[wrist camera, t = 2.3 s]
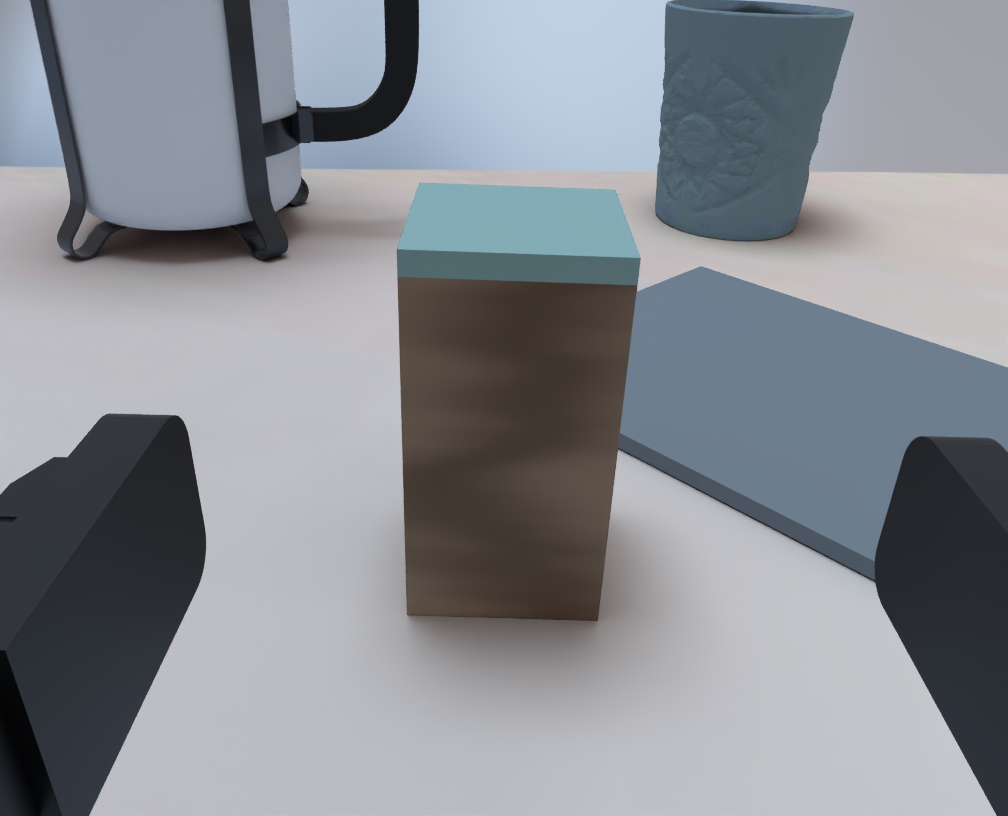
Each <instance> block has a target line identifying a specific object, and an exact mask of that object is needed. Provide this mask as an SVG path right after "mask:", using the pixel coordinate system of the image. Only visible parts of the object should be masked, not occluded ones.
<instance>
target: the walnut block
mask: <svg viewBox="0 0 1008 816" xmlns="http://www.w3.org/2000/svg"><path fill="white" fill-rule="evenodd" d="M640 259H641V258H640V255H639V252H638V250H637V247H636V244H635V242H634V239H633V236H632V233H631V231H630V228H629V225H628V223H627V220H626V217H625V215H624V212H623V209H622V206H621V204H620V201H619V198H618V196H617V193H616V190H605V189H578V188H551V187H524V186H496V185H469V184H442V183H419V185H418V188H417V191H416V194H415V197H414V200H413V203H412V206H411V209H410V212H409V215H408V218H407V221H406V224H405V227H404V230H403V232H402V235H401V238H400V241H399V244H398V247H397V273H398V309H399V345H400V381H401V417H402V452H403V488H404V524H405V560H406V596H407V615H429V616H461V617H493V618H525V619H557V620H589V621H598V613H599V604H600V596H601V587H602V579H603V571H604V562H605V554H606V545H607V537H608V528H609V520H610V512H611V503H612V495H613V486H614V478H615V469H616V461H617V453H618V444H619V436H620V427H621V419H622V410H623V402H624V394H625V385H626V377H627V368H628V360H629V351H630V343H631V335H632V326H633V318H634V309H635V301H636V292H637V284H638V276H639V267H640Z"/></svg>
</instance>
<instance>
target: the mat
mask: <svg viewBox="0 0 1008 816" xmlns="http://www.w3.org/2000/svg"><path fill="white" fill-rule="evenodd" d="M920 436H939V437H978V438H991V439H993V440H995V441H997V442H998V443H999V444H1000V445H1001V446H1002V447H1003V448H1004V449H1005V450H1006V451H1007V452H1008V368H1007V367H1004V366H1001V365H998V364H995V363H992V362H989V361H986V360H983V359H980V358H977V357H974V356H971V355H968V354H965V353H962V352H959V351H956V350H953V349H950V348H947V347H944V346H941V345H938V344H934V343H931V342H928V341H925V340H922V339H919V338H916V337H913V336H910V335H907V334H904V333H901V332H898V331H895V330H892V329H889V328H886V327H883V326H880V325H877V324H874V323H871V322H868V321H865V320H862V319H859V318H856V317H853V316H850V315H847V314H844V313H841V312H838V311H835V310H832V309H829V308H826V307H823V306H820V305H816V304H813V303H810V302H807V301H804V300H801V299H798V298H795V297H792V296H789V295H786V294H783V293H780V292H777V291H774V290H771V289H768V288H765V287H762V286H759V285H756V284H753V283H750V282H747V281H744V280H741V279H738V278H735V277H732V276H729V275H726V274H723V273H720V272H717V271H714V270H711V269H708V268H705V267H702V266H701V267H698V268H696V269H693V270H690V271H688V272H685V273H683V274H680V275H678V276H675V277H673V278H670V279H668V280H665V281H663V282H660V283H658V284H655V285H653V286H650V287H648V288H645V289H643V290H640V291H638V292H636V301H635V309H634V318H633V326H632V335H631V343H630V351H629V360H628V368H627V377H626V385H625V394H624V402H623V410H622V419H621V427H620V436H619V444H618V448H619V449H621V450H623V451H625V452H627V453H629V454H631V455H633V456H635V457H637V458H639V459H641V460H643V461H644V462H646V463H648V464H650V465H652V466H654V467H656V468H658V469H660V470H662V471H664V472H666V473H668V474H670V475H672V476H673V477H675V478H677V479H679V480H681V481H683V482H685V483H687V484H689V485H691V486H693V487H695V488H697V489H699V490H701V491H702V492H704V493H706V494H708V495H710V496H712V497H714V498H716V499H718V500H720V501H722V502H724V503H726V504H728V505H730V506H731V507H733V508H735V509H737V510H739V511H741V512H743V513H745V514H747V515H749V516H751V517H753V518H755V519H757V520H759V521H760V522H762V523H764V524H766V525H768V526H770V527H772V528H774V529H776V530H778V531H780V532H782V533H784V534H786V535H788V536H789V537H791V538H793V539H795V540H797V541H799V542H801V543H803V544H805V545H807V546H809V547H811V548H813V549H815V550H817V551H818V552H820V553H822V554H824V555H826V556H828V557H830V558H832V559H834V560H836V561H838V562H840V563H842V564H844V565H846V566H847V567H849V568H851V569H853V570H855V571H857V572H859V573H861V574H863V575H865V576H867V577H869V578H871V579H873V580H875V554H876V549H877V545H878V541H879V538H880V535H881V531H882V528H883V524H884V521H885V518H886V514H887V511H888V507H889V504H890V500H891V497H892V494H893V490H894V487H895V483H896V480H897V476H898V473H899V470H900V466H901V463H902V459H903V456H904V454H905V451H906V449H907V447H908V445H909V444H910V443H911V441H913V440H914V439H915V438H917V437H920Z"/></svg>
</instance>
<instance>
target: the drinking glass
mask: <svg viewBox="0 0 1008 816" xmlns="http://www.w3.org/2000/svg"><path fill="white" fill-rule="evenodd" d="M665 13H666V14H665V73H664V79H663V89H664V95H663V103H662V107H661V118H660V121H661V130H660V137H659V146H660V152H661V153H660V157H659V163H658V170H657V189H656V205H655V211H656V215H657V216H658V218H659V219H660V220H661V221H663V222H664V223H666V224H667V225H670V226H671V227H673V228H676V229H678V230H681V231H683V232H687V233H690V234H694V235H699V236H704V237H710V238H716V239H724V240H739V241H753V240H767V239H773V238H778V237H782V236H784V235H786V234H788V233H790V232H791V231H792V230H793V229H794V227H795V225H796V223H797V220H798V216H799V213H800V209H801V206H802V202H803V199H804V195H805V191H806V187H807V183H808V179H809V165H810V160H811V156H812V154H813V152H814V149H815V147H816V145H817V143H818V135H819V131H820V125H821V122H822V114H823V112H824V110H825V108H826V106H827V104H828V102H829V99H830V97H831V93H832V90H833V84H834V81H835V78H836V75H837V71H838V68H839V64H840V60H841V56H842V53H843V51H844V48H845V44H846V41H847V37H848V34H849V30H850V27H851V24H852V20H853V16H854V14H853V12H850V11H846V10H841V9H835V8H827V7H819V6H810V5H799V4H786V3H775V2H759V1H743V0H673V1H669V2H667V4H666V12H665Z"/></svg>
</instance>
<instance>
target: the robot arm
mask: <svg viewBox="0 0 1008 816" xmlns="http://www.w3.org/2000/svg"><path fill="white" fill-rule="evenodd" d="M205 554H206V533H205V526H204V520H203V514H202V509H201V503H200V498H199V492H198V486H197V481H196V475H195V469H194V464H193V458H192V452H191V447H190V441H189V436H188V432H187V429H186V426H185V424H184V422H183V420H182V419H181V418H180V417H179V416H176V415H142V414H106V415H104V416H103V417H101V418H100V419H99V420H98V422H97V423H96V424H95V425H94V426H93V428H92V429H91V430H90V431H89V432H88V434H87V435H86V436H85V437H84V438H83V440H82V441H81V442H80V443H79V444H78V445H77V447H76V448H75V449H74V450H73V451H72V453H71V454H70V455H69V456H68V457H54V458H52V459H50V460H49V461H47V462H45V463H44V464H42V465H40V466H39V467H37V468H36V469H34V470H32V471H31V472H29V473H27V474H26V475H24V476H22V477H21V478H19V479H17V480H16V481H14V482H13V483H11V484H10V485H9V486H8V487H7V488H6V489H5V490H4V491H3V492H2V494H1V495H0V816H89V815H90V812H91V810H92V808H93V806H94V804H95V802H96V800H97V798H98V796H99V794H100V792H101V789H102V787H103V785H104V783H105V781H106V779H107V777H108V775H109V773H110V771H111V768H112V766H113V764H114V762H115V760H116V758H117V756H118V754H119V752H120V750H121V747H122V745H123V743H124V741H125V739H126V737H127V735H128V733H129V731H130V729H131V726H132V724H133V722H134V720H135V718H136V716H137V714H138V712H139V710H140V708H141V706H142V703H143V701H144V699H145V697H146V695H147V693H148V691H149V689H150V687H151V685H152V682H153V680H154V678H155V676H156V674H157V672H158V670H159V668H160V666H161V664H162V661H163V659H164V657H165V655H166V653H167V651H168V649H169V647H170V645H171V643H172V640H173V638H174V636H175V634H176V632H177V630H178V628H179V626H180V624H181V622H182V619H183V617H184V615H185V613H186V611H187V609H188V607H189V605H190V603H191V601H192V599H193V596H194V594H195V592H196V590H197V588H198V586H199V583H200V580H201V577H202V573H203V569H204V563H205ZM875 582H876V588H877V592H878V596H879V598H880V601H881V604H882V606H883V608H884V610H885V611H886V613H887V615H888V617H889V619H890V621H891V622H892V624H893V626H894V628H895V630H896V632H897V633H898V635H899V637H900V639H901V641H902V643H903V644H904V646H905V648H906V650H907V652H908V654H909V655H910V657H911V659H912V661H913V663H914V665H915V666H916V668H917V670H918V672H919V674H920V676H921V678H922V679H923V681H924V683H925V685H926V687H927V689H928V690H929V692H930V694H931V696H932V698H933V700H934V701H935V703H936V705H937V707H938V709H939V711H940V712H941V714H942V716H943V718H944V720H945V722H946V723H947V725H948V727H949V729H950V731H951V733H952V734H953V736H954V738H955V740H956V742H957V744H958V745H959V747H960V749H961V751H962V753H963V755H964V756H965V758H966V760H967V762H968V764H969V766H970V767H971V769H972V771H973V773H974V775H975V777H976V778H977V780H978V782H979V784H980V786H981V788H982V789H983V791H984V793H985V795H986V797H987V799H988V800H989V802H990V804H991V806H992V808H993V810H994V811H995V813H996V815H997V816H1008V452H1007V451H1006V450H1005V449H1004V448H1003V447H1002V446H1001V445H1000V444H999V443H998V442H997V441H995V440H993V439H991V438H978V437H939V436H920V437H917V438H915V439H914V440H913V441H911V443H910V444H909V445H908V447H907V449H906V451H905V454H904V456H903V459H902V463H901V466H900V470H899V473H898V476H897V480H896V483H895V487H894V490H893V494H892V497H891V500H890V504H889V507H888V511H887V514H886V518H885V521H884V524H883V528H882V531H881V535H880V538H879V541H878V545H877V549H876V554H875Z"/></svg>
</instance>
